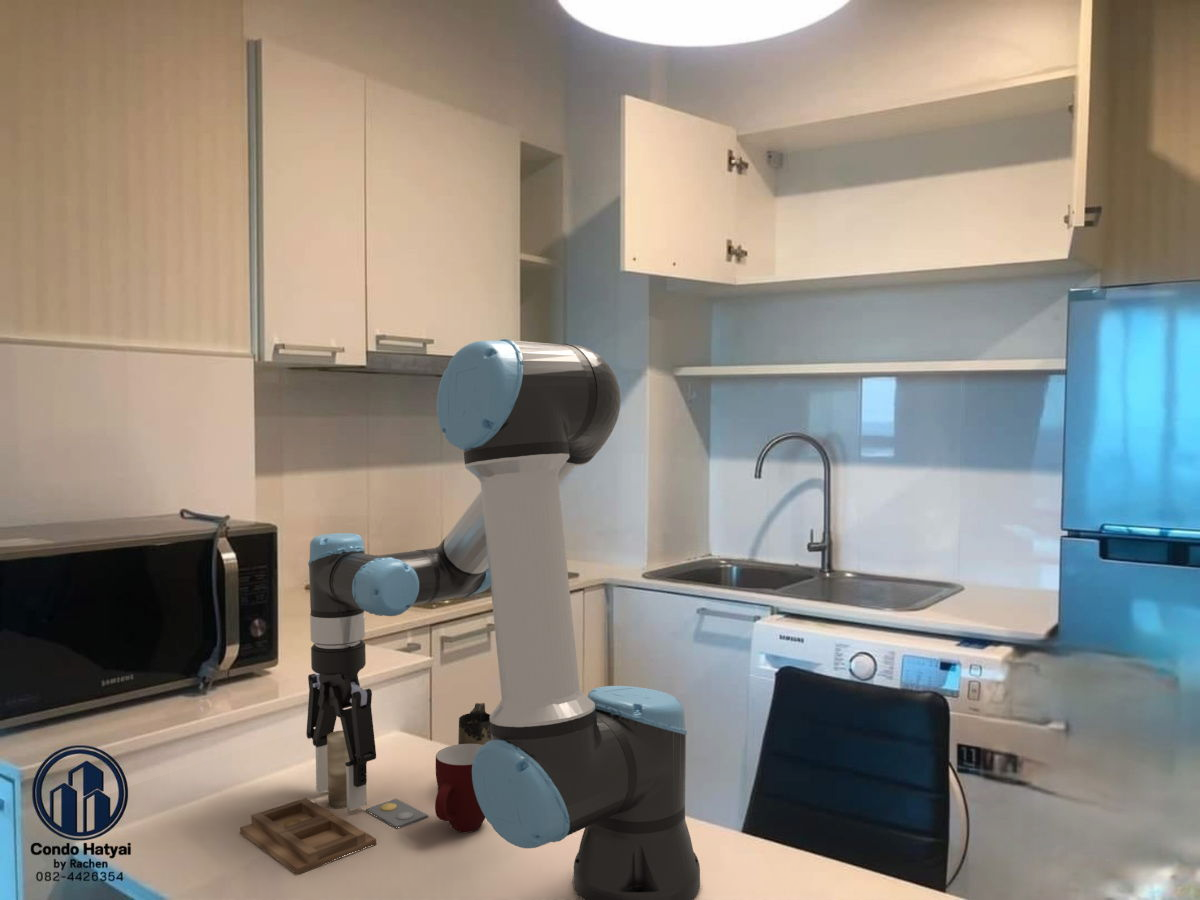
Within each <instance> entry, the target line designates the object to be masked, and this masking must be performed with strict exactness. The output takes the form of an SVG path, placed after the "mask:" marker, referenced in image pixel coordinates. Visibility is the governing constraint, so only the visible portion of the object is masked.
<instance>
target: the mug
mask: <svg viewBox="0 0 1200 900" xmlns="http://www.w3.org/2000/svg"><path fill="white" fill-rule="evenodd" d="M482 746H483V745H481V744H459V745H458V744H453V745H450V746H446V747H443V748H442V749H440V750H439V751H438V752H436V755H435V778H436V785H437V790H438V791H437V793H436V797H435V801H434V811H435V815H436V818H437V819H438V820H440V821H443V822H447V823H448V824H449V826H450V827H451V828H452V829H451V830H454V831H456V832H457V831H458V833H471V831H472V832H474V831H478V830H479V829H480V828H481V826H482V825H483V823H484V821H485V820H486V818H485V816H484V814H483V812H482V810H481V808H480V806H479V803H478V801H477V798H476V795H475V791H474V787H473V781H472V765H473V760H474V759H475V758H476V753H477V751H478V750H479V749H480V748H481V747H482ZM478 828H479V829H478Z"/></svg>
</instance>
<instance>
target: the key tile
mask: <svg viewBox="0 0 1200 900" xmlns="http://www.w3.org/2000/svg"><path fill="white" fill-rule="evenodd" d="M367 811H368V812H370V813H372V814H373V815H372V814H371V815H372V816H374V815H375V816H377V817H378V818H377V817H376V818H377V819H379V818H380V819H379V820H381V819H382V820H381V821H383V820H384V821H385V823H386V822H387V823H386V824H388V823H389V824H388V825H390V824H391V825H393V826H395V827H397V828H398V827H401V828H403V827H406V826H409V825H411V824H414V823H416V822H419V821H422V820H425V819H427V818H429V815H428V814H427V813H426V812H423V811H421V810H420V809H417V808H415V807H413V806H412V805H410V804H408V803H405V802H404V801H402V800H400V799H398V798H393V799H390V800H387V801H385V802H382V803H380V804H376V805H373V806H370V807H368V808H365V812H367ZM368 812H367V813H368ZM370 813H369V814H370ZM375 816H374V817H375ZM426 817H427V818H426ZM424 818H425V819H424ZM421 819H422V820H421ZM384 821H383V822H384ZM408 824H409V825H408ZM391 825H390V826H391ZM405 825H406V826H405ZM393 826H392V827H393ZM402 826H403V827H402ZM395 827H394V828H395ZM397 828H396V829H397ZM398 829H399V828H398Z"/></svg>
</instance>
